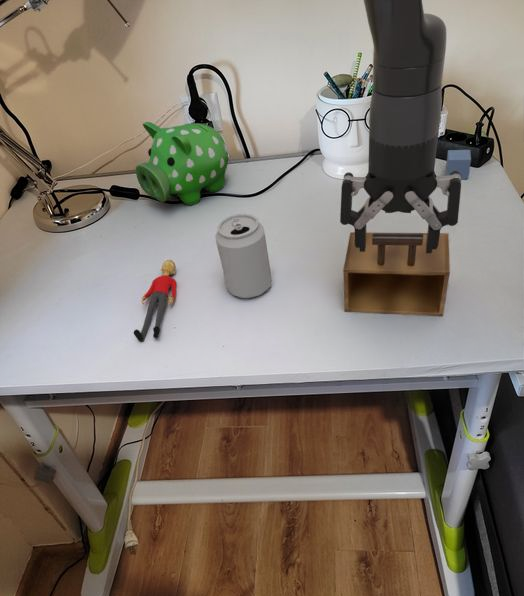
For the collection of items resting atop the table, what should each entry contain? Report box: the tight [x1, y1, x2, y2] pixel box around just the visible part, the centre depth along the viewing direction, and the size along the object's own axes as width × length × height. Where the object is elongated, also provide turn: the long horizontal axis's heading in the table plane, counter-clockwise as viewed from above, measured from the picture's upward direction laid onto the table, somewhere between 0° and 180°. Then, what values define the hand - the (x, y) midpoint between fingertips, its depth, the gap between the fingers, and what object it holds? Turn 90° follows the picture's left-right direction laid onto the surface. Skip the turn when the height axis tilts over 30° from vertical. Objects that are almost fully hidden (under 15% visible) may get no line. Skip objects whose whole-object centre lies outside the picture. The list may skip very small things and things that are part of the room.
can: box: [214, 213, 273, 299], centre depth 79 cm, size 8×8×12 cm
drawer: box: [342, 231, 451, 317], centre depth 73 cm, size 14×9×13 cm, turn 77°
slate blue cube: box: [445, 149, 472, 180], centre depth 97 cm, size 4×4×4 cm
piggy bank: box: [135, 121, 229, 206], centre depth 103 cm, size 14×18×15 cm
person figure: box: [133, 259, 177, 343], centre depth 82 cm, size 5×4×18 cm
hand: (395, 249), depth 68 cm, fingers open, 8 cm apart
